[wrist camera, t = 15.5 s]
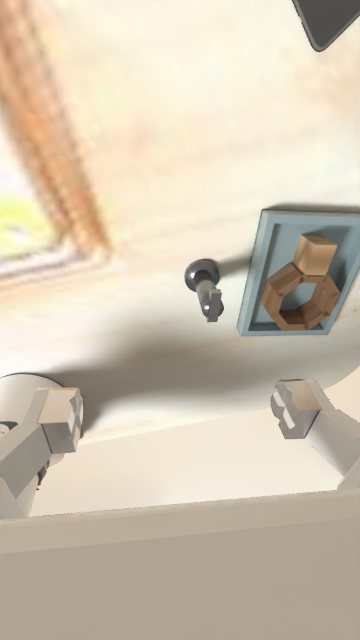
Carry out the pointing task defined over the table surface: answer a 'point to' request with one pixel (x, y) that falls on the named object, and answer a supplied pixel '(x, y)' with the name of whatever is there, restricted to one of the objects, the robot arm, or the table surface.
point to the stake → (205, 287)
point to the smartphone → (326, 19)
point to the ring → (304, 268)
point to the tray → (279, 249)
